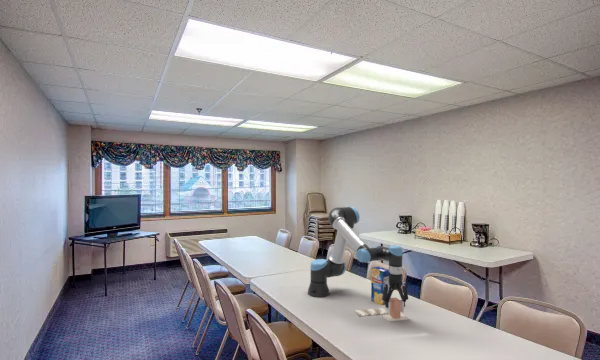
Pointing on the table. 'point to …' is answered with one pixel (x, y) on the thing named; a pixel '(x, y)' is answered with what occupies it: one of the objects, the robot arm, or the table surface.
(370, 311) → the white tray
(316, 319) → the table surface
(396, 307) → the stub
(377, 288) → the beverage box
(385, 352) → the table surface
